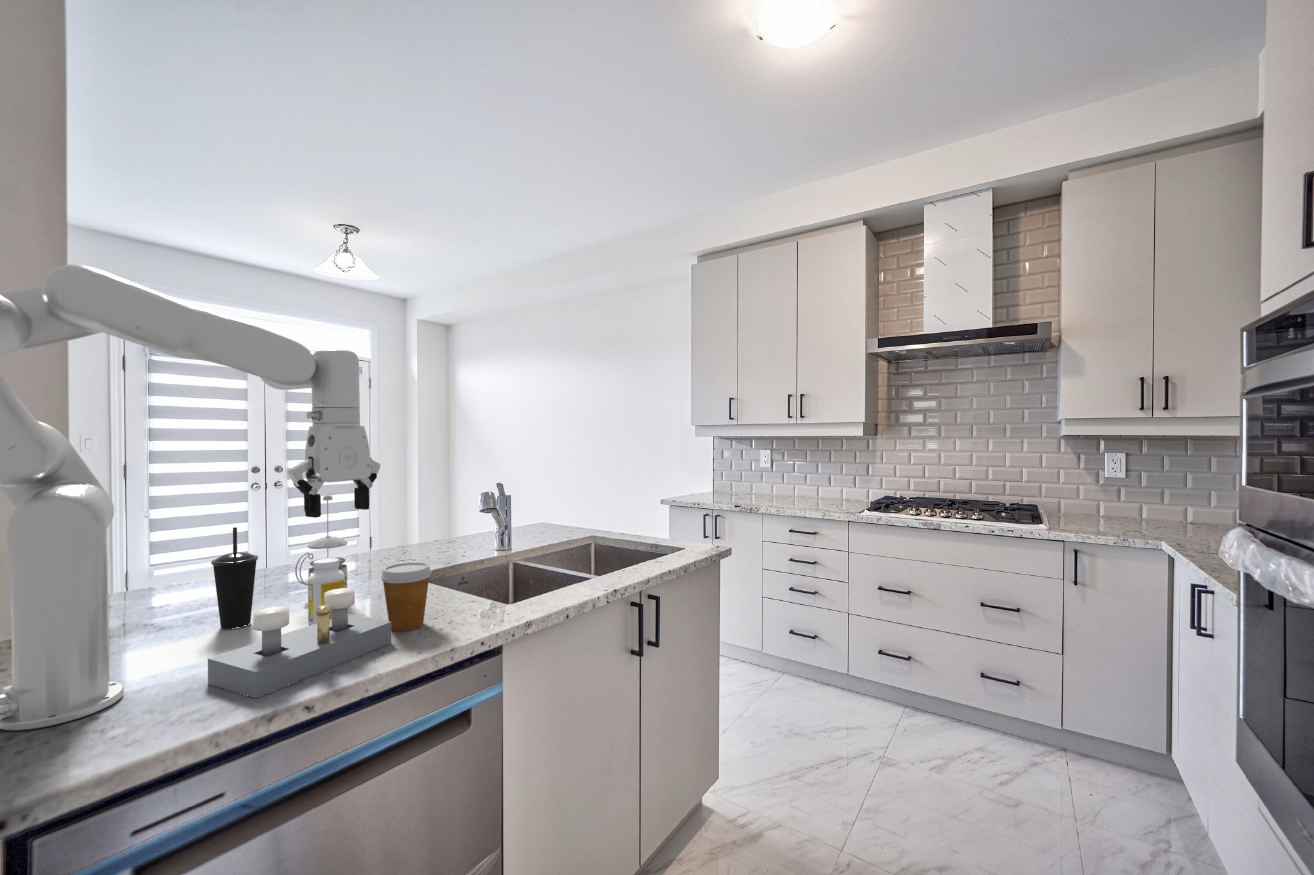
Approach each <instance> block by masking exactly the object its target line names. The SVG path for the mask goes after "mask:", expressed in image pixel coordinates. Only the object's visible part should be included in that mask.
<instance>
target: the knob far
mask: <svg viewBox="0 0 1314 875" xmlns="http://www.w3.org/2000/svg"><path fill="white" fill-rule="evenodd" d="M355 592H356V590H355V588H351V587H347V588H341V589H334V590H330V591H327V592H325V593H324V605H331V609H332V631H334V632H339V631H342V630H345V629H348V614H349V607H352V606H354V605H355V603H356V602H355V601H356V600H355V599H356V598H355V597H356V596H355V595H356V593H355Z"/></svg>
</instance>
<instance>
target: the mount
mask: <svg viewBox="0 0 1314 875" xmlns="http://www.w3.org/2000/svg"><path fill="white" fill-rule="evenodd" d="M329 622H330V641H329V642H328V643H325V644H317V623H316V624H313V625H310V624H309V625H307V626H305V627H304V626H303V627H300V628H298V629H295V630H291V631H289V632H286V633H281V652H280V653H277V654H274V655H271V656H262V640H260V641H258V642H255V643H252V644H248V645H246V646H243V647H240V648H236V649H234V650H231V651H227V652H223V653H221V654H219V655H214V656H212V657H209V658H207V685H209V684H210V685H209V686H212V687H216V686H217V688H219V689H222V688H224V689H223V690H226V691H229V690H231V691H230V692H232V691H233V693H235V692H237V693H236V694H238V693H241V694H240V695H242V694H245V695H248V696H253V697H254V698H253V699H255V698H257V697H259V696H262V697H264V696H265V695H264V694H267V695H269V694H270V693H269V692H271V693H273V692H272V691H274V690H276V691H278V690H277V689H279V688H281V689H283V688H282V687H283V686H286V687H288V686H289V685H288V684H291V685H293V684H294V683H293V682H296V683H298V682H300V681H299V680H301V681H302V679H303V680H305V679H308V678H311V677H312V676H315V675H317V674H320V673H322V672H325V671H328V670H329V669H332V668H334V667H337V666H339V665H341V663H342V664H344V663H346V662H349V661H352V660H354V659H356V658H359V657H361V656H364V655H366V654H368V652H369V653H371V652H373V651H375V650H378V649H380V648H383V647H385V645H386V646H388V645H390V644H392V630H391V622H390V621H389V620H383V619H378V618H373V617H368V616H363V615H358V614H353V613H348V629H345V630H342V631H339V632H334V631H332V618H331V619H329ZM387 644H388V645H387ZM382 646H383V647H382ZM297 681H298V682H297ZM292 683H293V684H292ZM287 685H288V686H287ZM279 690H280V689H279ZM274 692H275V691H274ZM268 693H269V694H268ZM245 695H244V696H245ZM263 695H264V696H263ZM248 696H247V697H248ZM259 698H260V697H259ZM257 699H258V698H257Z"/></svg>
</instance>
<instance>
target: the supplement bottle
mask: <svg viewBox="0 0 1314 875" xmlns="http://www.w3.org/2000/svg"><path fill="white" fill-rule="evenodd" d="M337 558H338V557H328V558H327V557H325V559H324V558H319V559H320V560H318V559H315V560H316V561H314V560H313V561H314V562H313V566H312V567H313V568H314V569H315V571H314V573H313V574H312V573H311V574H310V576H309V578H307V584H308V586H307V598H308V599H307V601H308V609H307V611H308V612H307V616H308V617H307V619H308V625H309V626H310V625H313V624H316V623H317V614H316V607H317V606H321V605H324V593H325V592H327V591H330V590H334V589H341V588H345V575H344V573H343V572H342V571H340V570H338V567H339V559H337ZM331 618H332V609H331V612H330V613H329V619H331Z"/></svg>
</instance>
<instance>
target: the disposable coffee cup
mask: <svg viewBox="0 0 1314 875" xmlns="http://www.w3.org/2000/svg"><path fill="white" fill-rule="evenodd" d="M431 574H432V570H431V567H430V565H429V563H425V562H418V561H417V562H413V561H412V562H402V563H394V564H391V565H388V566H385V567H383V570H382V573H381V574H380V575H379V576H380V579H381V581H382V584H383V589H384V590H383V592H384V597H385V604H386V610H387V611H386V612H387V618H388V620H387V621H390V622H391V631H394V632H405V631H412V630H416V629H419V628H420V627H422V626H423V625H424V619H425V614H426V613H425V612H426V604H427V597H428V588H429V581H430V577H431Z"/></svg>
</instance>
